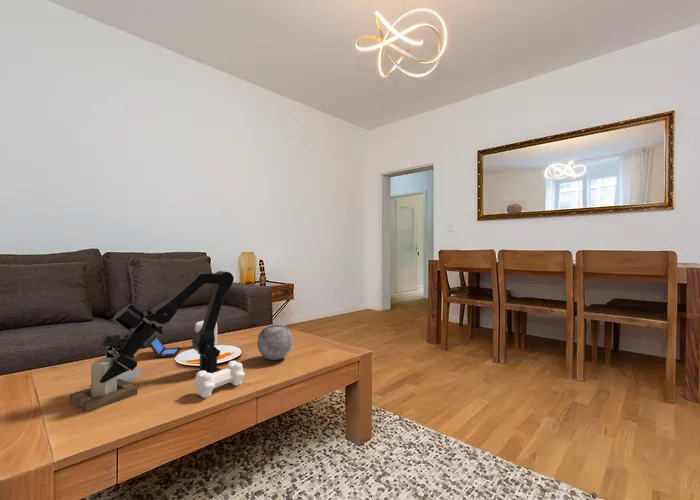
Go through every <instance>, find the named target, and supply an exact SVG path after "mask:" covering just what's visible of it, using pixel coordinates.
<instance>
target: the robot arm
mask: <svg viewBox="0 0 700 500" xmlns="http://www.w3.org/2000/svg"><path fill="white" fill-rule="evenodd" d="M234 280H235V278H234V276H233V274H232V272H230V271H223V270H218V271H216V272H213V273H212V272H209V273H208V272H207V273H205V272H198V273H196V274H195V275H194V276H193V277H192V278H191V279H190V280H188V282H187V283H185V284H184V285H183V286H182V287H181V288H180V289H179V290H177V291H176V293H174V294H173V295H172V296H171V297H169V298H168V299H166V300H164V301H161V302H160V303H158V304H157V305H154V306H153V307H152V309H150V310H145V311H144V310H143V311H140V310H139V309H138V308H136V307H135V306H134V304H132V303H129V304H127V305H126V306H125V307H123V308H122V309H120V310H118V311H117V312H116V313H115V315H114V316H113V318H112V320H113V321H114V322H116V323H117V324H118V325H120V326H121V327H123V328H125V329H126V330H129V331H130V330H131V329H132V331H131V332H130V333H129V334H128V333H126V334H125V335H123V336H121V335H120V334H119V335H117V334H116V333H115V334H111V333H108V332H104V333H103V334H104V335H103V336H102V338H101V340H100V342H99V343H100V344H101V345H102V346H104V347H105V351H104V352H105V358H112V361H111V366H110V368H109V369H108V370H107V372H106V373H105V374H104V375H103V377H102V378H101V380H100V382H101V383H104V382H106V381H108V380H110V379H112V378H114V377H116V376H118V375H120V374H122V373H124V372H126V371H129V370H132V371H133V370H136V367H137V366H138V361H137V360H136V359H135V357H136V356H135V355H136V354H137V353H138V352H139V351H140V350H141V349H144V348H145V347H146V346H145V344H146V343H147V342H148V341H150V339H151V338H152V337H153V336H154V335H155V334H156V333H158V334H159V335H163V327H164V326H162V325H165V324H167V323H169V322H170V321H171V320H172V318H174V316H175V315H176V313H177V311H178V310H179V308H180V307H181V306H182V305H183V304H184V303H185V302H186V301H187V300H188V299H189V298H190V297H191V296H193V295H195V293H196V292H197V291H198V290H199V289H200V288H201V287H202V286H204V285H205V284H211V288H212V293H211V297H210V301H209V303H208V306H207V310H206V313H205V316H204V319H203V321H204V322H203V326H202V328H201V330H200V331H199V332H195V331H194V333H193V338H192V340H191V341H190V342H191V343H192V344H191V345H192V348H193V349H194V351H196V352H197V354H198V355H199V369H197V370H196V373H197V372H199V371H202V370H204V371H206V372H207V373H214V372H217V371H220V370H221V368H220V367H218V358H219V356H220V355H221V354H220V353H221V351H220V349H218V348H217V347H216V346H215V345H214V341H215V336H214V329H215V326H216V322H218V319H219V315H220V312H221V308H222V306H223V302H224V299H225V296H226V294H227V293H228V291H229V290H230V289H231V287H232V285H233V283H234ZM144 319H145V320H147V321H148V322H147V321H145V320H144ZM154 322H155V323H156V324H155V323H154ZM157 324H158V325H157ZM159 324H160V325H159ZM113 358H114V359H115V360H114V359H113Z"/></svg>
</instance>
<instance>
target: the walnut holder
mask: <svg viewBox="0 0 700 500" xmlns="http://www.w3.org/2000/svg"><path fill="white" fill-rule="evenodd" d="M136 395H138V386H136V385H135V384H133V383H128V382H125V381H123V380H121V379H118V380H117V391H114V392H111V393H108V394H105V395H102V396H99V397H96V398H91V387H89V388H85V389H82V390H78V391H76V392H72V393H70V394H69V403H71V404H72V405H74V406H76V407H77V408H79V409H80V410H82V411H84V412H86V413H88V412H91V411H94V410H97V409H101V408H102V407H105V406H109V405H112V404H113V403H114V404H115V403H116V402H117V403H118V402H120V401H122V400H126V399H127V398H132V397H134V396H136Z"/></svg>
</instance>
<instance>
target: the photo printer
mask: <svg viewBox="0 0 700 500" xmlns="http://www.w3.org/2000/svg"><path fill="white" fill-rule="evenodd" d="M203 322H204V320H201V321H198V322H195V325H194V333H195V332H199V331H200V330H201V328H202V326H203ZM217 322H218V321H217ZM217 322H216V326H215V329H214V336H215V341H214V346H216V345H218V323H217Z"/></svg>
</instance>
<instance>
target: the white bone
mask: <svg viewBox="0 0 700 500" xmlns="http://www.w3.org/2000/svg"><path fill="white" fill-rule="evenodd" d="M245 375H246V373H245V371H244V368H243V363H241V362H238V361H237V360H230V361H228V363H227V366H226V368H224V369H220V370H219V371H216V372H213V373H207V372H206V371H204V370H202V371H199V372H196V374H195V378H194V380H193V385H194V389H195V394H196V395H197V396H199V397H201V398H203V399H204V398H205V399H206V398H208V397H209V398H210V396H211V395H212V392H213V390H214V389H216V388H218V387H221V386H223V385H226V384H232V385H233V386H236V387H237V386H239V385H241V384H242V382H243V380H244V377H245Z"/></svg>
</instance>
